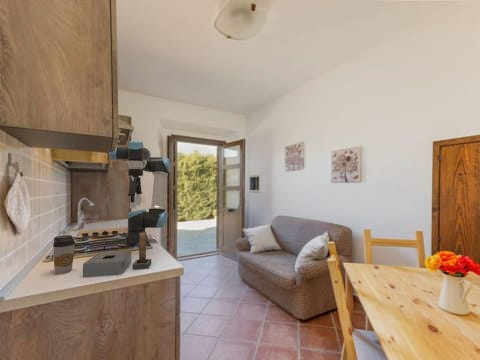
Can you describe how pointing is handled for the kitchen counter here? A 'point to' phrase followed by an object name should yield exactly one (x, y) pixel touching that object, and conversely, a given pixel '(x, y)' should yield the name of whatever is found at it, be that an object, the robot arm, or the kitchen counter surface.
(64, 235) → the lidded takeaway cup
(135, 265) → the socket
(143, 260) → the stylus
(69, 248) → the coffee cup
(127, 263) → the box
